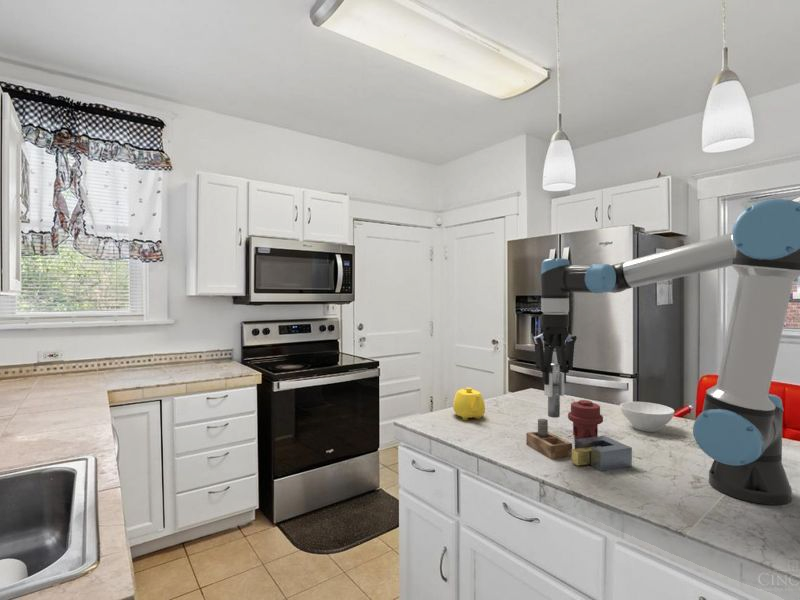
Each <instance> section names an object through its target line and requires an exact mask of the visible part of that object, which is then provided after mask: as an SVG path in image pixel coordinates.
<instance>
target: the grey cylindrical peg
mask: <svg viewBox="0 0 800 600" xmlns="http://www.w3.org/2000/svg"><path fill="white" fill-rule="evenodd" d="M550 373H551V374H553V397H549V396H547V416H548V417H549V418H554V419H557V418H560V416H561V415H560V414H561V412H560V408H561V406H560V405H561V396H560V364H558V362H557V363H556V362H552V363H551V370H550Z"/></svg>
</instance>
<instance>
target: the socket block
mask: <svg viewBox="0 0 800 600" xmlns="http://www.w3.org/2000/svg"><path fill="white" fill-rule="evenodd" d="M585 447H591V464H590V466H591V467H592V468H594V469H596V470H597V471H599V472H605V471H611V470H617V469H618V470H619V469H624V468H629V467H630V468H632V466H633V447H631V446H628V445H626V444H624V443H622V442H620V441H617V440H615V439H612V438H611V437H608V436H606V435H598V437H590V438H582V439H574V449H578V448H585Z"/></svg>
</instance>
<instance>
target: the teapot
mask: <svg viewBox="0 0 800 600" xmlns="http://www.w3.org/2000/svg"><path fill="white" fill-rule="evenodd" d="M452 404H453V405H452V407H453V408H452V409H453V411H454V413H455V414H456V416H458V417H461V420H462V421H468V420H469V418H475V419H476V420H481V419H482V417H483V416H484V415H485V414H486V405H485V401H484V398H483V396H482V393H481V392H480V391H478V390H475V389H473V387H465V388H460V389H459V390H457V391H456V393H455V396H454V399H453V403H452Z"/></svg>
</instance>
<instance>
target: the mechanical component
mask: <svg viewBox="0 0 800 600" xmlns="http://www.w3.org/2000/svg"><path fill="white" fill-rule="evenodd" d="M567 419H568V420H569V421H570V422H572V435H573V439H574V440H575V439H582V438H590V437H598V436H599V434H598V431H599V430H598V427H599V425H601V424H603V422H604V416H603V415H602V414H601V405H599V404H598V403H594V402H593V401H591V400H586V399H580V400H578V401H573V402H571V403H570V411H569V412H568V413H567Z"/></svg>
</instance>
